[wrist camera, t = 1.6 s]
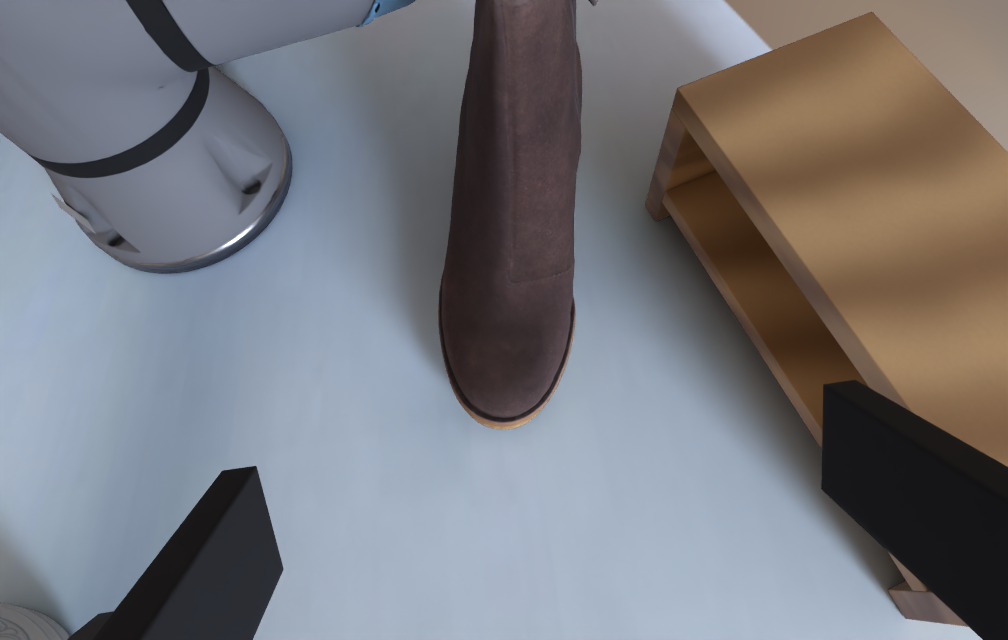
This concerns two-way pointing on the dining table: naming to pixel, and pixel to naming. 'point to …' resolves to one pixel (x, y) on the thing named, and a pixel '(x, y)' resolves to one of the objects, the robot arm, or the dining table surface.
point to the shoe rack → (852, 232)
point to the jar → (28, 625)
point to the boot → (513, 212)
